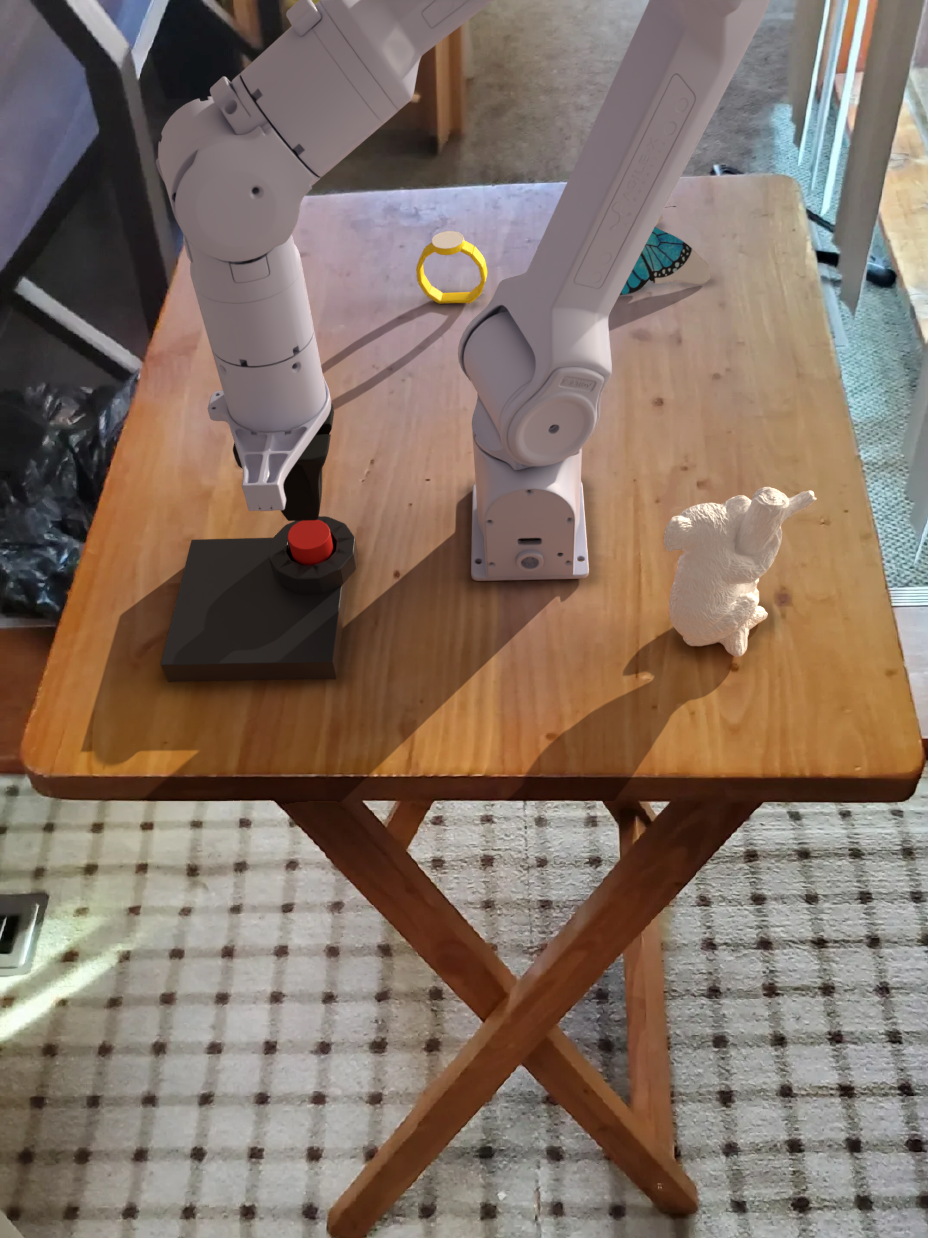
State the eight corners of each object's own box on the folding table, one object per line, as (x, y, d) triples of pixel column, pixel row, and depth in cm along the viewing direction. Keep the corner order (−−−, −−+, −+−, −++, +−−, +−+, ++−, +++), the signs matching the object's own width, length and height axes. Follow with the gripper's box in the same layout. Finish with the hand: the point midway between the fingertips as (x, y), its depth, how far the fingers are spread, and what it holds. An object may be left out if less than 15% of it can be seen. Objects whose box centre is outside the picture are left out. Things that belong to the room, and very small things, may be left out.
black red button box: (350, 679, 69) (342, 645, 66) (168, 682, 70) (153, 649, 67) (363, 550, 76) (357, 515, 73) (198, 554, 77) (186, 519, 74)
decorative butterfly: (549, 214, 96) (650, 162, 96) (565, 272, 101) (660, 223, 101) (598, 271, 90) (706, 216, 90) (612, 330, 95) (714, 278, 95)
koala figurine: (776, 590, 72) (810, 454, 62) (790, 671, 67) (830, 537, 58) (647, 590, 72) (663, 455, 63) (654, 670, 68) (672, 538, 59)
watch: (489, 292, 96) (487, 231, 91) (485, 311, 94) (482, 249, 89) (423, 290, 96) (417, 229, 92) (417, 308, 95) (411, 247, 90)
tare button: (331, 565, 71) (327, 548, 70) (289, 566, 71) (285, 549, 70) (335, 534, 73) (331, 518, 72) (294, 535, 73) (290, 519, 72)
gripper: (212, 264, 64) (257, 440, 74) (164, 424, 55) (224, 599, 65) (330, 260, 63) (359, 437, 74) (302, 420, 54) (340, 597, 65)
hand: (303, 513), depth 69 cm, fingers closed
